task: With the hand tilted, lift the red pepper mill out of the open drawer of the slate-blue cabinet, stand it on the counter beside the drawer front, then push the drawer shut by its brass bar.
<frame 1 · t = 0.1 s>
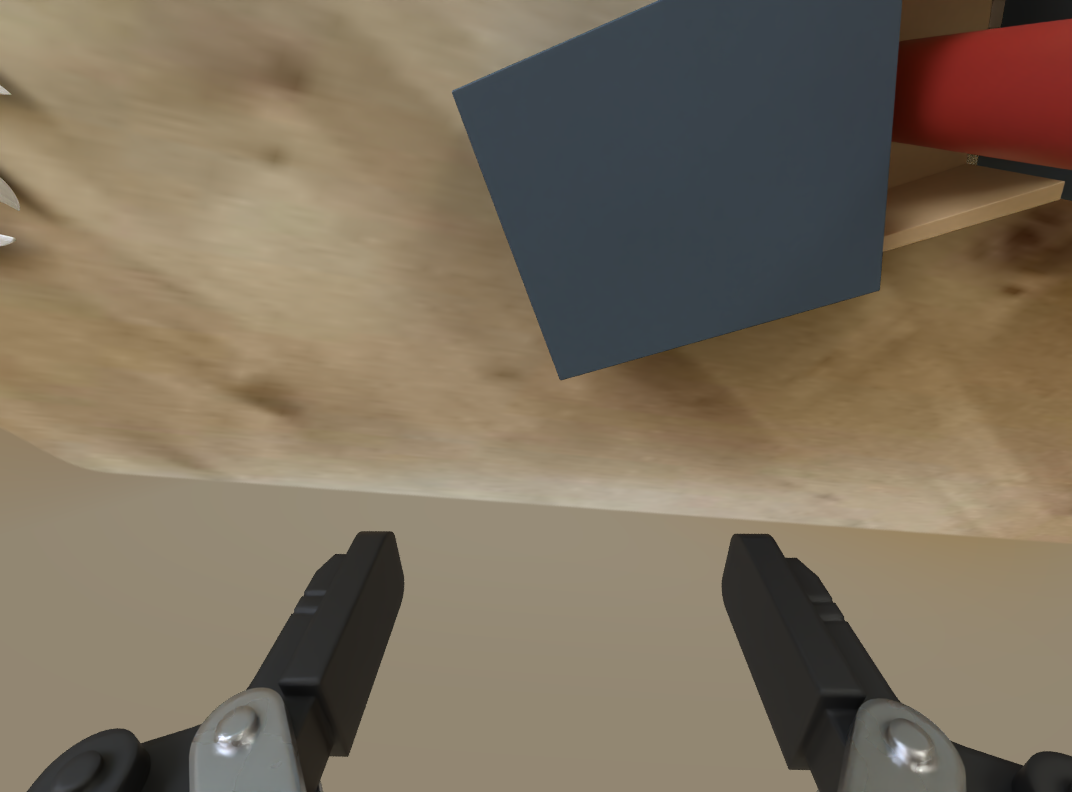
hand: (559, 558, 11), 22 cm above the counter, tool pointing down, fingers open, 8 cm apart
pepper mill: (890, 91, 22), point 2 cm above the counter, touching drawer
drawer: (957, 79, 20), point 4 cm above the counter, slide at 9.0 cm, touching pepper mill
cabinet: (649, 170, 26), on the counter
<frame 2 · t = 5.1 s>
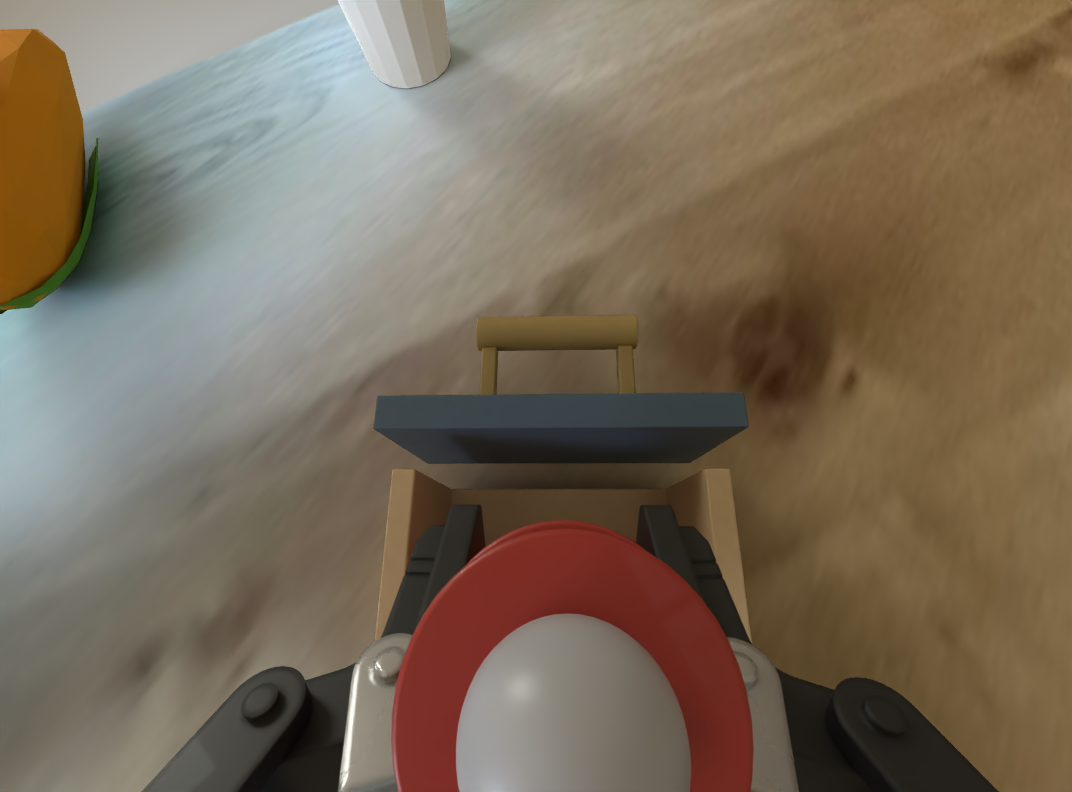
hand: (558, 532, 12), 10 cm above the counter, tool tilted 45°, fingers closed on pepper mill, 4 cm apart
pepper mill: (558, 587, 19), point 2 cm above the counter, touching drawer, gripper
corn: (69, 201, 29), on the counter
white faceted cylinder: (411, 61, 32), on the counter
drawer: (558, 553, 17), point 4 cm above the counter, slide at 9.0 cm, touching pepper mill
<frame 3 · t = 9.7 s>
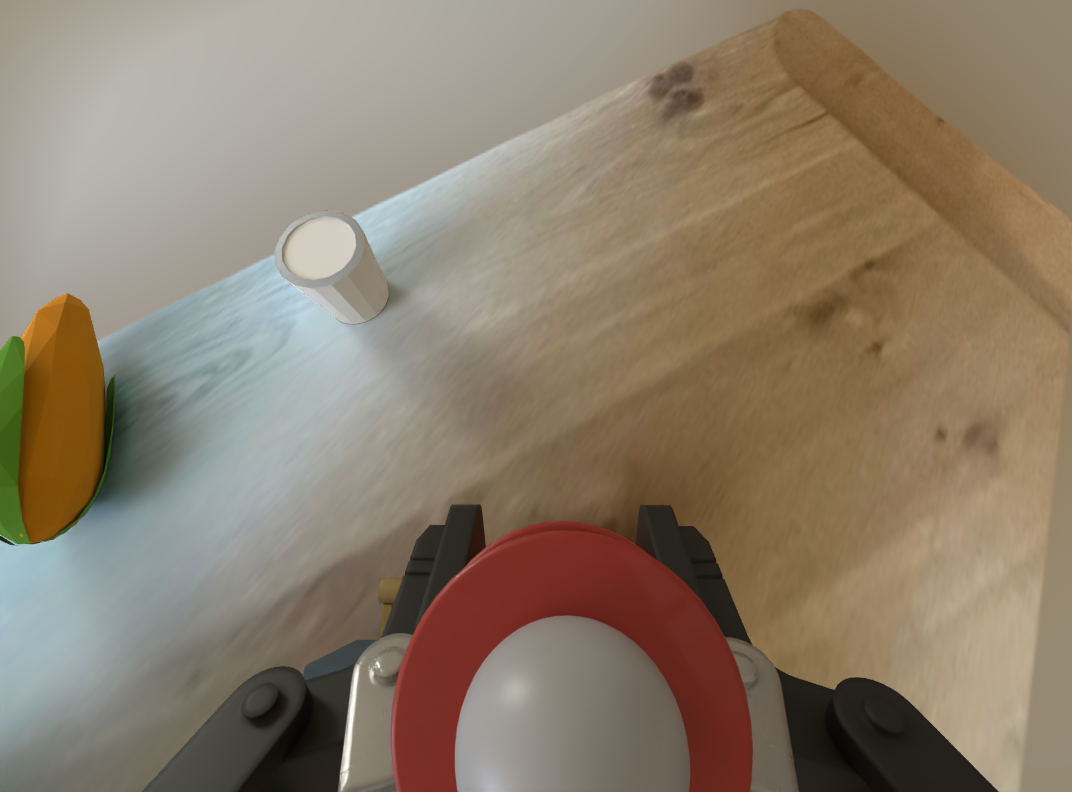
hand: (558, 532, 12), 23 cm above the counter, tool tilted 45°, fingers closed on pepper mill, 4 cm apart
pepper mill: (558, 587, 19), point 15 cm above the counter, touching gripper
corn: (92, 421, 38), on the counter
white faceted cylinder: (358, 297, 41), on the counter
drawer: (427, 753, 26), point 4 cm above the counter, slide at 9.0 cm
when the fingers open (8 cm above the counter, at t = 14.4 s): pepper mill stays where it is, on the counter.
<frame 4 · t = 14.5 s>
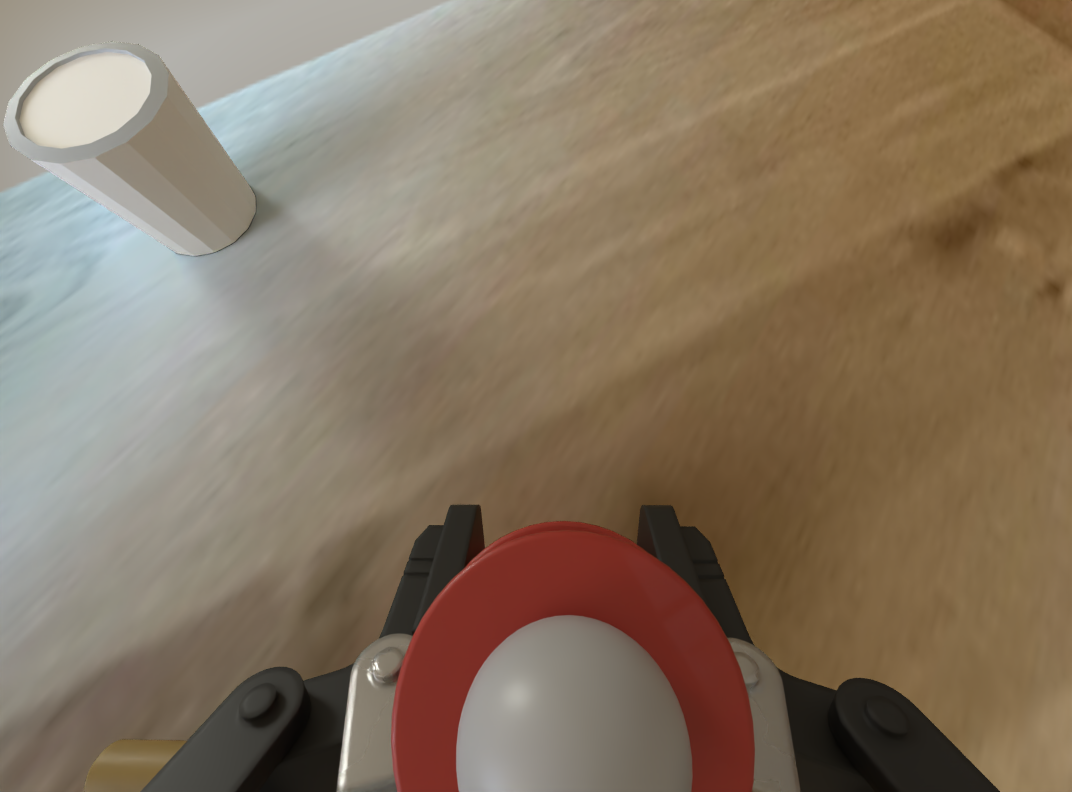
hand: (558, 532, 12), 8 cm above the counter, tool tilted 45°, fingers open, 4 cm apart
pepper mill: (558, 587, 19), on the counter
white faceted cylinder: (209, 215, 26), on the counter
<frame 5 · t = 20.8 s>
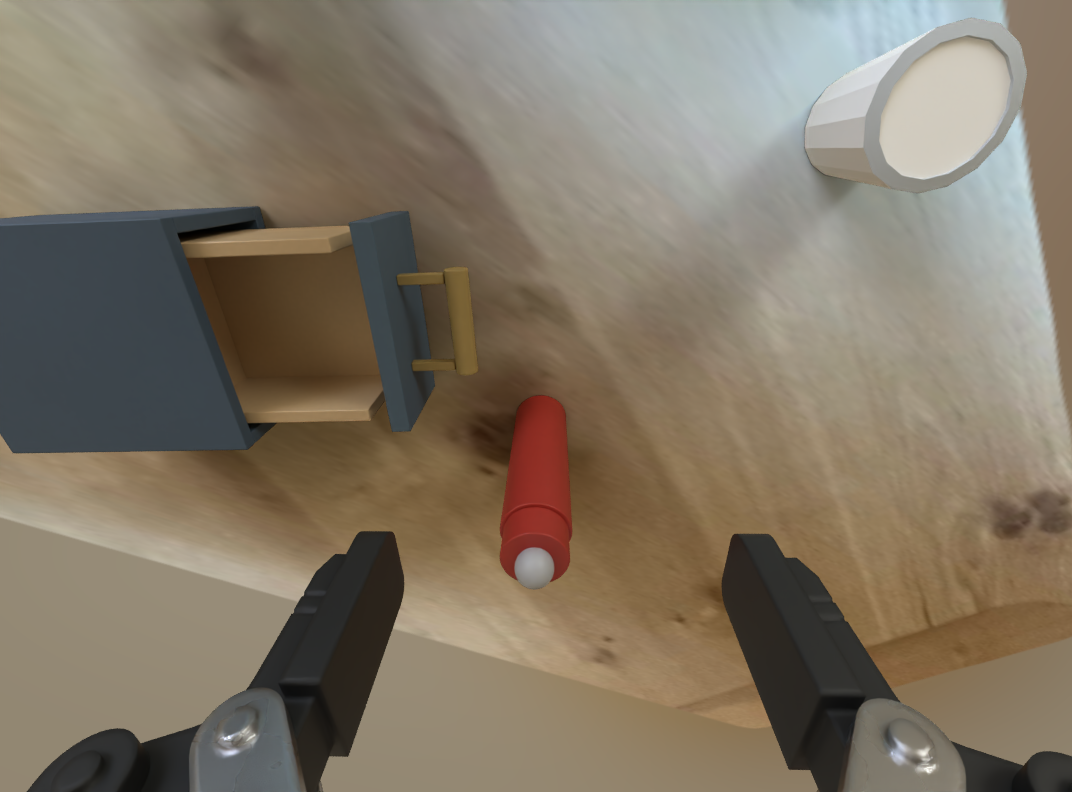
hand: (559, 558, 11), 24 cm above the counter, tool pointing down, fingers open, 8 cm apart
pepper mill: (541, 417, 37), on the counter
white faceted cylinder: (851, 125, 27), on the counter
drawer: (330, 322, 29), point 4 cm above the counter, slide at 9.0 cm
cabinet: (185, 309, 33), on the counter
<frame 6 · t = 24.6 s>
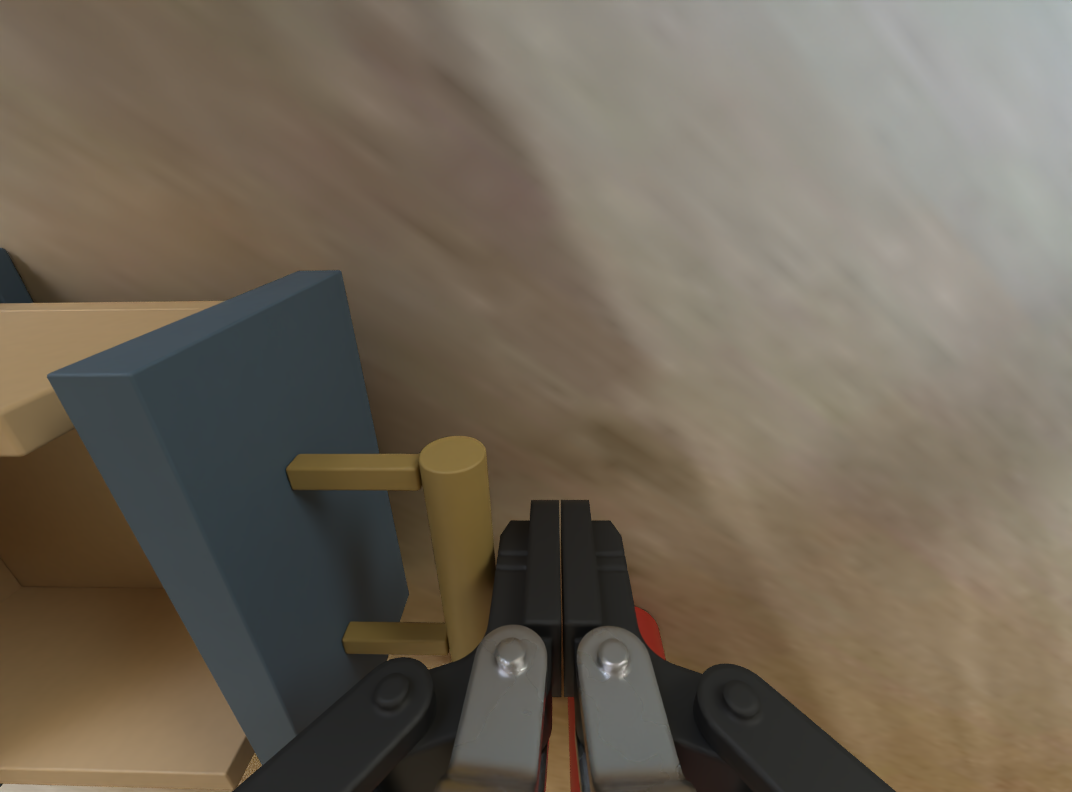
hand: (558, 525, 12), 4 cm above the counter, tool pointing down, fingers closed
pepper mill: (611, 633, 20), on the counter
drawer: (147, 536, 12), point 4 cm above the counter, slide at 8.8 cm, touching gripper
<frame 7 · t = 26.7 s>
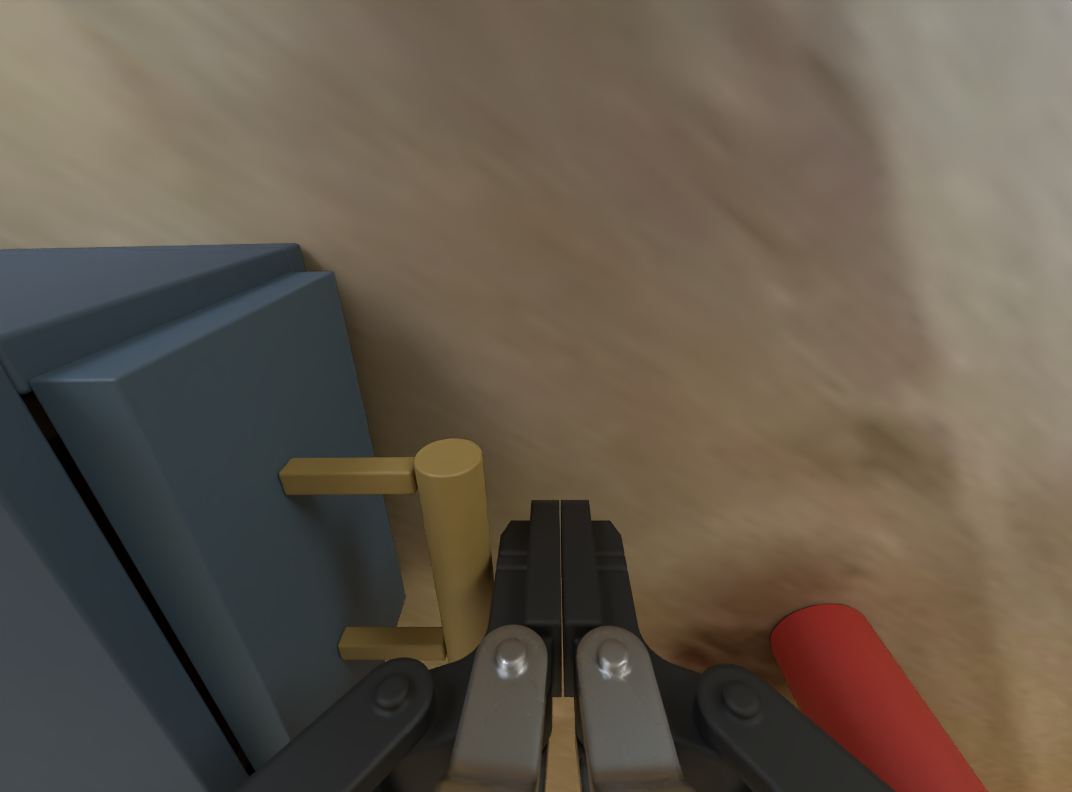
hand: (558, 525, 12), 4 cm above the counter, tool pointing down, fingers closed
pepper mill: (817, 635, 19), on the counter
drawer: (138, 543, 12), point 4 cm above the counter, slide at 0.0 cm, touching cabinet, gripper
cabinet: (129, 451, 16), on the counter
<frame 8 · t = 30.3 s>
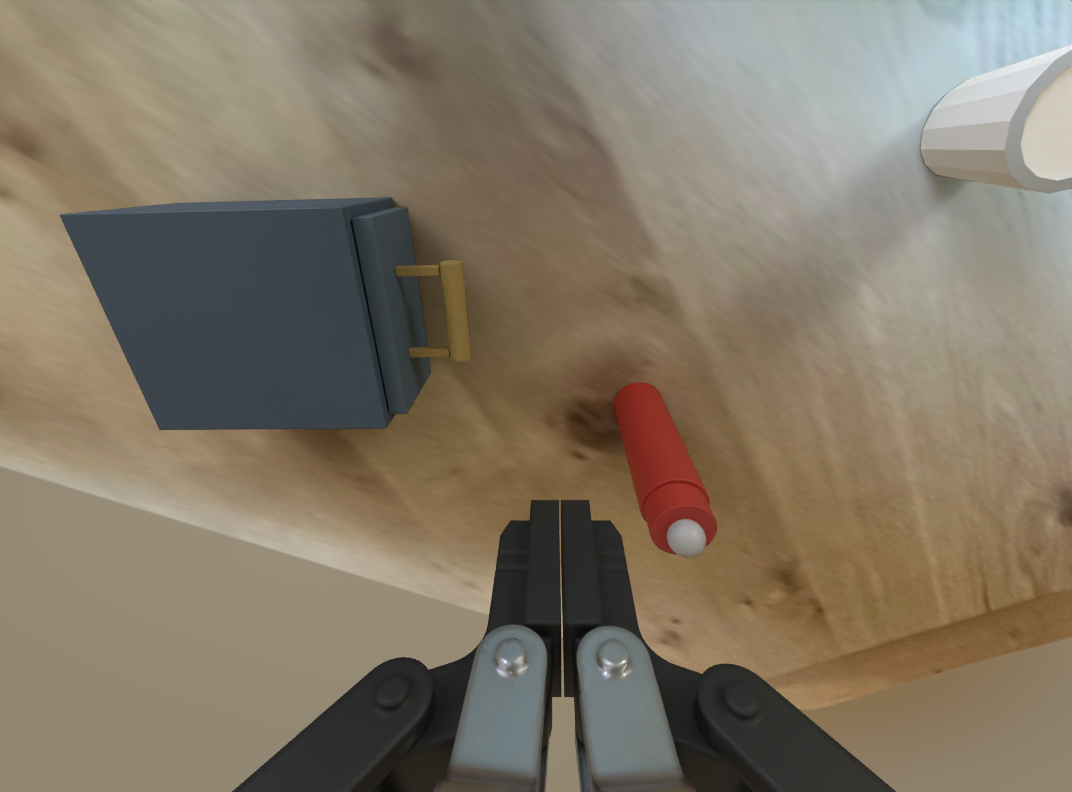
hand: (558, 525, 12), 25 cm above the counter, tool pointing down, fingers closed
pepper mill: (637, 403, 38), on the counter
white faceted cylinder: (966, 128, 29), on the counter
drawer: (332, 311, 31), point 4 cm above the counter, slide at 0.0 cm
cabinet: (307, 296, 35), on the counter
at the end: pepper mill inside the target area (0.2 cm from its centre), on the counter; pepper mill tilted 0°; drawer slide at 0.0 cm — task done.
